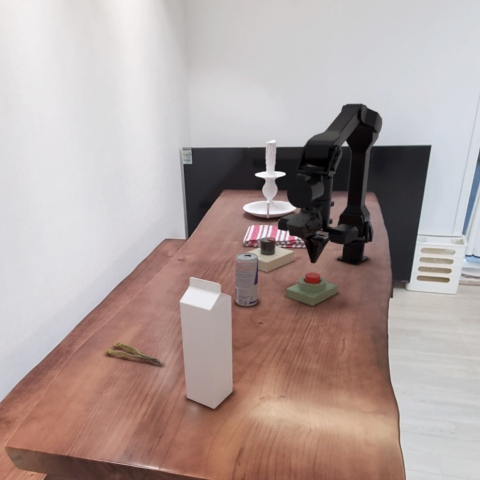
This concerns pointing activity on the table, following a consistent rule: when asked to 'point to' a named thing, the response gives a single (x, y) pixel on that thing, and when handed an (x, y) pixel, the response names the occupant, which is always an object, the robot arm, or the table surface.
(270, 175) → the candlestick
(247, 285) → the energy drink
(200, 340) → the milk
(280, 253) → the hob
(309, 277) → the button
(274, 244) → the knob
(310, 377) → the table surface
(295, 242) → the dish towel
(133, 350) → the dried herb bundle
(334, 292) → the button base
